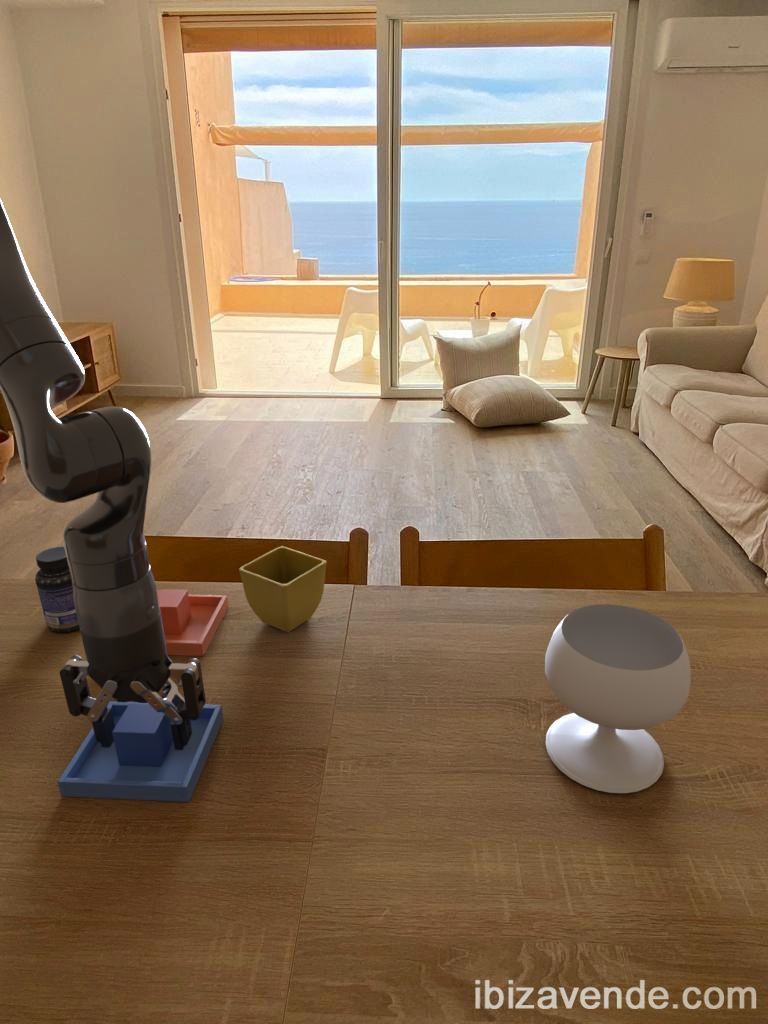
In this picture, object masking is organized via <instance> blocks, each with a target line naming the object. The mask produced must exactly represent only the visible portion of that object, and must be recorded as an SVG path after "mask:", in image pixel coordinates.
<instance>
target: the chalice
mask: <svg viewBox="0 0 768 1024" xmlns="http://www.w3.org/2000/svg"><path fill="white" fill-rule="evenodd" d="M687 650H688V649H687V647H686V645H685V643H684V640H683V638H682V637H681V635H680V633H678V631H677V629H675V628H674V627H673V626H672V625H671V624H669V622H668V621H666V620H664V619H662V618H661V617H659V616H658V615H655V614H653V613H651V612H648V611H645V610H642V609H639V608H636V607H632V606H627V605H622V604H613V603H611V604H610V603H601V604H600V603H599V604H597V603H596V604H590V605H585V606H581V607H579V608H576V609H574V610H573V611H571V612H569V613H568V614H567V615H566V616H564V618H563V619H562V620H561V621H560V622H559V623H558V625H557V626H556V628H555V630H554V631H553V633H552V636H551V638H550V640H549V643H548V646H547V648H546V652H545V655H544V673H545V676H546V680H547V683H548V685H549V688H550V690H551V691H552V693H553V694H554V695H555V697H556V698H557V700H558V701H559V702H561V704H562V705H563V706H564V707H565V708H566V709H567V710H568V711H570V712H572V713H567V714H565V715H563V716H561V717H560V718H558V719H556V720H555V721H554V722H553V723H552V724H551V725H550V726H549V728H548V730H547V732H546V734H545V747H546V751H547V754H548V756H549V757H550V759H551V761H552V763H553V764H554V765H555V766H556V767H557V768H558V770H560V771H561V772H562V773H563V774H564V775H565V776H566V777H568V778H569V779H571V780H573V781H575V782H576V783H578V784H580V785H582V786H585V787H587V788H590V789H593V790H596V791H598V792H599V791H600V792H603V793H604V792H605V793H610V794H629V793H636V792H640V791H642V790H645V789H647V788H649V787H651V786H652V785H654V784H655V783H656V782H657V781H658V780H659V778H660V777H661V775H662V774H663V772H664V771H663V770H664V768H665V759H664V754H663V752H662V749H661V747H660V745H659V744H658V743H657V741H656V740H655V738H653V736H652V735H651V734H650V733H649V732H647V731H646V730H647V729H651V728H655V727H657V726H660V725H663V724H664V723H666V722H668V721H670V720H671V719H673V718H674V717H675V716H677V715H678V714H679V712H680V711H681V710H682V709H683V708H684V706H685V704H686V703H687V701H688V699H689V695H690V692H691V682H692V681H691V680H692V671H691V670H692V669H691V662H690V656H689V654H688V653H689V652H688V651H687Z"/></svg>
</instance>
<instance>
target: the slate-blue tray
mask: <svg viewBox="0 0 768 1024" xmlns="http://www.w3.org/2000/svg"><path fill="white" fill-rule="evenodd" d="M129 704H149V703H148V702H147V703H138V702H134V701H129V702H117V701H111V700H110V702H109V704H108V705H107V708H111V710H112V714H113V719H114V723H115V726H116V725H117V723H118V722H119V720H120V718H121V717H122V715H123V713H124V712H125V710H126V708H127V707H128V705H129ZM172 704H173V703H172ZM173 706H174V704H173ZM174 707H175V706H174ZM175 708H176V707H175ZM223 721H224V715H223V707H222V705H221V704H220V705H219V704H204V707H203V709H202V711H201V713H200V715H199V718H198V719H197V720H190V722H191V729H192V735H191V737H190V739H189V742H188V744H187V745H185V746H184V748H183V750H175V748H174V742H173V743H172V745H171V747H170V749H169V751H168V753H167V755H166V757H165V759H164V761H163V763H162V765H161V767H151V766H125V765H119V761H118V757H117V752H116V748H115V743H114V741H113V743H112V745H111V746H110V748H103V747H102V746H101V742H98V741H97V740H96V738H95V734H94V730H93V727H91V729H90V731H88V734H87V735H86V737H85V738H84V740H83V741H82V743H81V744H80V746H79V747H78V749H77V751H75V752H76V753H75V754H74V755H73V757H72V759H71V760H70V762H69V763H68V765H66V766H67V767H65V768H64V769H65V770H63V773H62V774H61V776H60V777H59V779H58V780H57V786H58V789H59V792H60V796H61V797H65V798H66V797H67V798H87V799H88V798H91V799H111V800H131V801H132V800H134V801H135V800H136V801H156V802H157V801H159V802H181V803H182V802H183V803H190V801H191V799H192V797H193V794H194V793H195V789H196V787H197V784H198V782H199V779H200V777H201V775H202V772H203V769H204V767H205V764H206V762H207V760H208V757H209V755H210V752H211V750H212V747H213V745H214V743H215V740H216V738H217V736H218V733H219V731H220V728H221V725H222V723H223Z"/></svg>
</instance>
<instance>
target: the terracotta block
mask: <svg viewBox="0 0 768 1024" xmlns="http://www.w3.org/2000/svg"><path fill="white" fill-rule="evenodd" d="M157 594H158V600H159V606H160V611H161V617H162V623H163V629H164V635H181V634H182V633H183V631H184V629H185V627H186V626H187V624H188V622H189V620H190V619H191V611H190V605H189V598H188V594H189V592H188V589H157Z"/></svg>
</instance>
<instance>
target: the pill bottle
mask: <svg viewBox="0 0 768 1024" xmlns="http://www.w3.org/2000/svg"><path fill="white" fill-rule="evenodd" d="M35 561H36V565H37V567H38V568H39V569H38V571H37V572H36V574H35V577H34V580H35V586H36V587H37V588H36V589H37V592H38V597H39V602H40V604H41V608H42V613H43V616H44V620H45V624H46V626H47V628H48V629H49V630H51V631H52V632H55V633H63V634H64V633H71V632H74V631H75V632H76V631H78V630H80V628H79V623H78V619H77V616H76V611H75V606H74V598H73V585H72V579H71V575H70V571H69V566H68V562H67V557H66V553H65V549H64V545H63V546H53V547H49V548H47V549H43V550H42V551H40V552H38V553H37V554H36V556H35Z"/></svg>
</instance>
